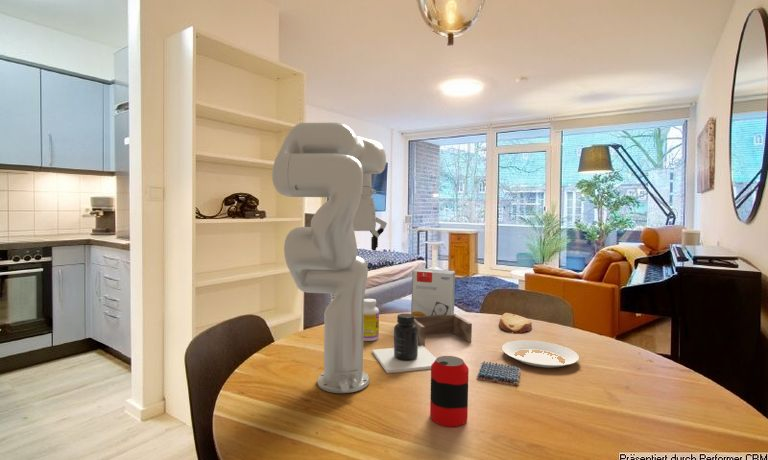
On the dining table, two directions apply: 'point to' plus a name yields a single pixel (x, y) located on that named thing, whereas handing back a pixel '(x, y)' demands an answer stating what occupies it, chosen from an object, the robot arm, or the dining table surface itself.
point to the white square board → (395, 365)
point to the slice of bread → (515, 323)
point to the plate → (540, 358)
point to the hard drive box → (432, 292)
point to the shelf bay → (442, 326)
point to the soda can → (449, 391)
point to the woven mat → (499, 373)
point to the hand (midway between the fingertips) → (358, 250)
